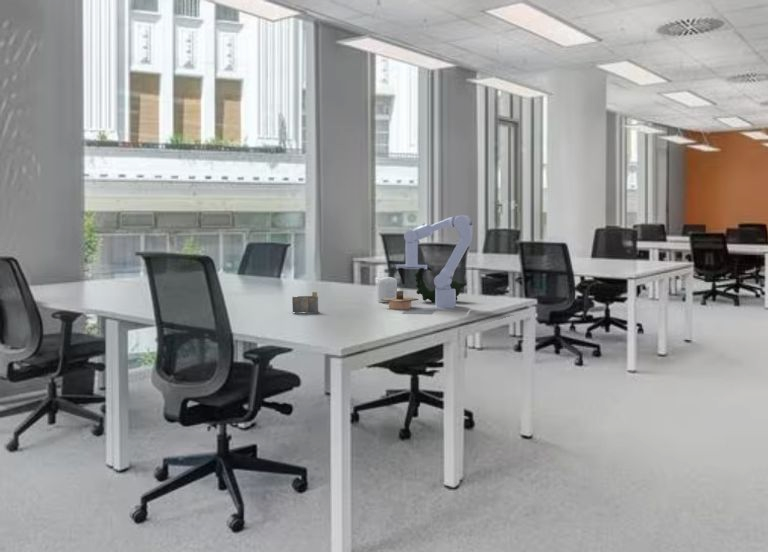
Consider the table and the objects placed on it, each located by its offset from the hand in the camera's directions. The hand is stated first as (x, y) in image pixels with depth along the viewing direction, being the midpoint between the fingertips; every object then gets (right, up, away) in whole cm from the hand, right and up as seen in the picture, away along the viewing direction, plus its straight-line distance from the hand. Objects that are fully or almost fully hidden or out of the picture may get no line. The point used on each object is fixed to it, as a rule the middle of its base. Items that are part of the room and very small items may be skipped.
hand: (411, 284), depth 323 cm
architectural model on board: (-48, -13, -14) cm, 52 cm away
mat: (+2, -12, -21) cm, 24 cm away
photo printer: (-11, -9, +18) cm, 23 cm away
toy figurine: (+15, -9, +16) cm, 24 cm away
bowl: (-6, -11, -7) cm, 14 cm away
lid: (-6, -7, -7) cm, 12 cm away
